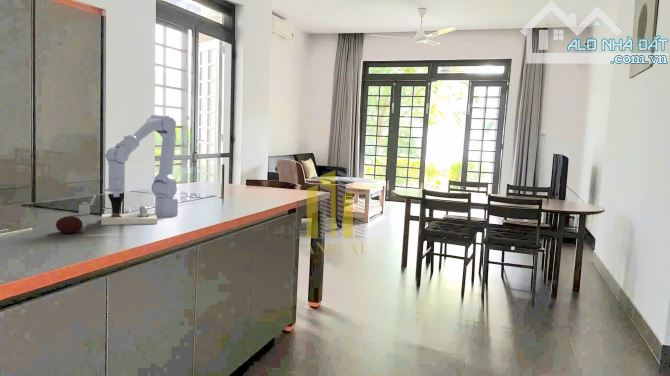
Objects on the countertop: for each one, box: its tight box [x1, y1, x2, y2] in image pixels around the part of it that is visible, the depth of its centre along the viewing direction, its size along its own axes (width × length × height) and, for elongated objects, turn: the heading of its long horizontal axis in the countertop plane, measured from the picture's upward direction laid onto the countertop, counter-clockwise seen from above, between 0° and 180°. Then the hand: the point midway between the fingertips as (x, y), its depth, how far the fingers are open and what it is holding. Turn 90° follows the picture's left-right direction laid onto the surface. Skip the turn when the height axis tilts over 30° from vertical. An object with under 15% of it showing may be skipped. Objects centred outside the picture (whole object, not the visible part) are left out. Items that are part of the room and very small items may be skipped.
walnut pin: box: [111, 210, 121, 217], centre depth 186 cm, size 3×3×8 cm
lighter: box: [78, 194, 97, 216], centre depth 201 cm, size 7×2×8 cm, turn 156°
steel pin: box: [139, 205, 148, 217], centre depth 191 cm, size 3×3×6 cm
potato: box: [55, 215, 84, 234], centre depth 168 cm, size 7×8×6 cm
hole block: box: [100, 213, 158, 226], centre depth 189 cm, size 20×10×3 cm, turn 115°
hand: (116, 212), depth 186 cm, fingers closed on walnut pin, 3 cm apart
